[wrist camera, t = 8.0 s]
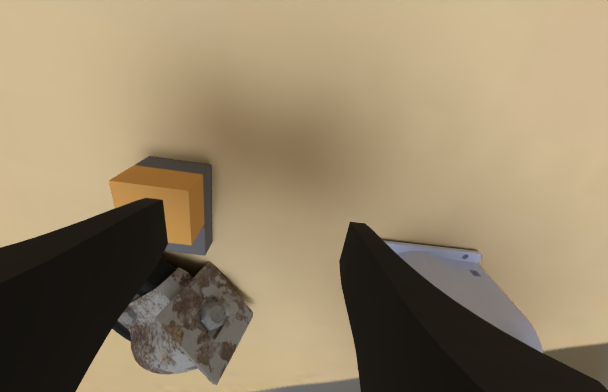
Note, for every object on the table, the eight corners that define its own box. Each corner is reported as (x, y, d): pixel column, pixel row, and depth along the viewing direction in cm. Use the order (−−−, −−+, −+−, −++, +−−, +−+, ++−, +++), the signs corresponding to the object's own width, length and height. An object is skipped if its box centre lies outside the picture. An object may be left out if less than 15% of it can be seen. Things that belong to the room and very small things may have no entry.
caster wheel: (121, 258, 26) (181, 216, 22) (192, 337, 28) (258, 312, 24) (45, 309, 20) (109, 263, 16) (143, 405, 22) (221, 385, 18)
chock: (212, 164, 19) (188, 190, 15) (212, 239, 22) (193, 278, 18) (150, 155, 18) (109, 180, 14) (160, 234, 22) (128, 272, 18)
